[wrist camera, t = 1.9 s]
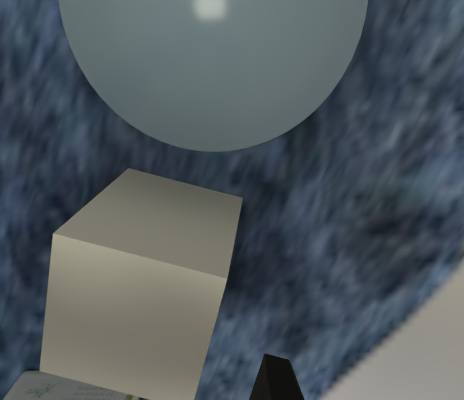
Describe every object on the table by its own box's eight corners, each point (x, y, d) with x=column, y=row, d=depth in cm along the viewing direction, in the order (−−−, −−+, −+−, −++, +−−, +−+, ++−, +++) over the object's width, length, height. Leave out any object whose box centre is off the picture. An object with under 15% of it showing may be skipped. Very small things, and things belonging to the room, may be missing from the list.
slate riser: (189, 167, 16) (168, 199, 13) (59, -34, 14) (-6, -57, 11) (388, 52, 14) (422, 54, 11) (269, -202, 12) (266, -292, 9)
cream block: (216, 295, 18) (191, 410, 12) (112, 268, 18) (39, 370, 12) (243, 197, 16) (227, 278, 11) (128, 168, 16) (53, 233, 11)
